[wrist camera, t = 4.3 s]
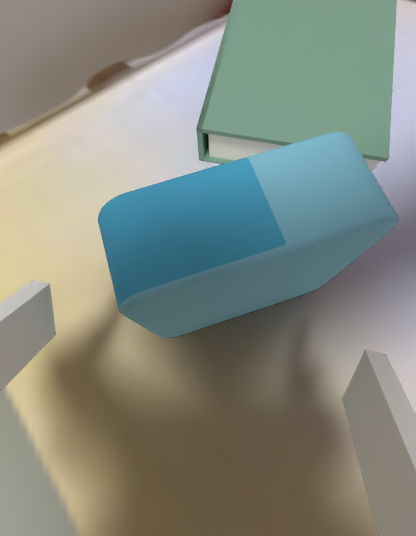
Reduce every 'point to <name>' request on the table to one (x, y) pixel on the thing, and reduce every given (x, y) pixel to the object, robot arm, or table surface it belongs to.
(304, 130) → the green book
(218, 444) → the table surface
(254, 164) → the data package
